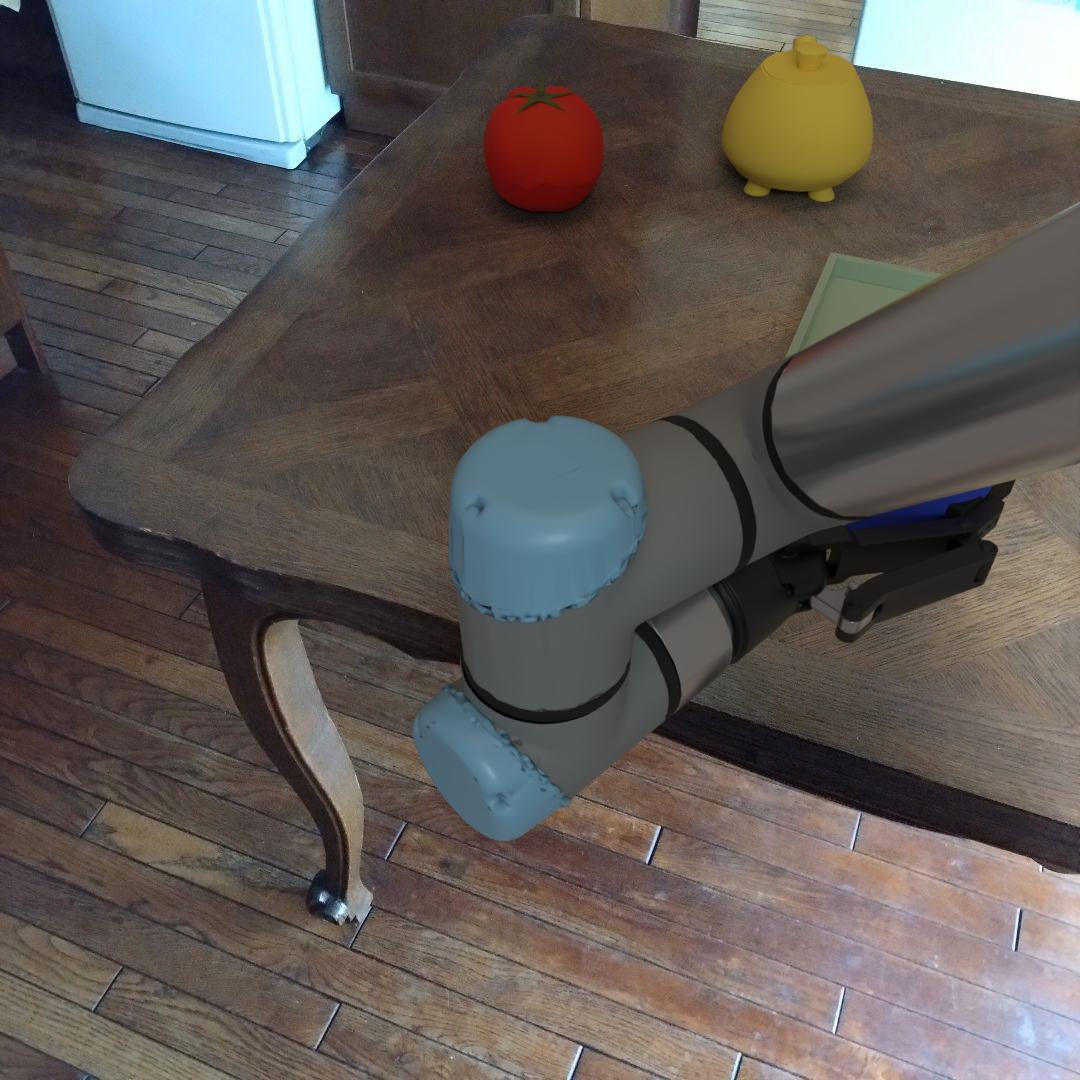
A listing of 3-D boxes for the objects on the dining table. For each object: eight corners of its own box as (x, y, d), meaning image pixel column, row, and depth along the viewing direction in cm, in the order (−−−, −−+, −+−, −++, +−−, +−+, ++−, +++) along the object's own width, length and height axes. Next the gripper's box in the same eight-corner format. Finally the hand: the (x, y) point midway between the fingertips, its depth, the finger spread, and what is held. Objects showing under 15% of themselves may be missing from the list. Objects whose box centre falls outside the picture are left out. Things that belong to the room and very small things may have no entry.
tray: (992, 461, 82) (1003, 435, 80) (769, 407, 87) (774, 381, 85) (1019, 315, 96) (1028, 290, 94) (825, 275, 101) (830, 251, 99)
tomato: (560, 162, 117) (561, 55, 109) (629, 213, 109) (636, 102, 101) (463, 191, 113) (456, 81, 105) (528, 246, 105) (526, 132, 97)
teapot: (724, 123, 124) (739, -2, 114) (861, 133, 122) (888, 7, 112) (711, 206, 110) (727, 72, 100) (865, 219, 108) (896, 84, 98)
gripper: (534, 543, 64) (767, 391, 74) (857, 794, 51) (1083, 570, 62) (531, 447, 58) (783, 298, 69) (891, 702, 46) (1133, 473, 56)
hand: (925, 426), depth 65 cm, fingers closed on mug, 11 cm apart
